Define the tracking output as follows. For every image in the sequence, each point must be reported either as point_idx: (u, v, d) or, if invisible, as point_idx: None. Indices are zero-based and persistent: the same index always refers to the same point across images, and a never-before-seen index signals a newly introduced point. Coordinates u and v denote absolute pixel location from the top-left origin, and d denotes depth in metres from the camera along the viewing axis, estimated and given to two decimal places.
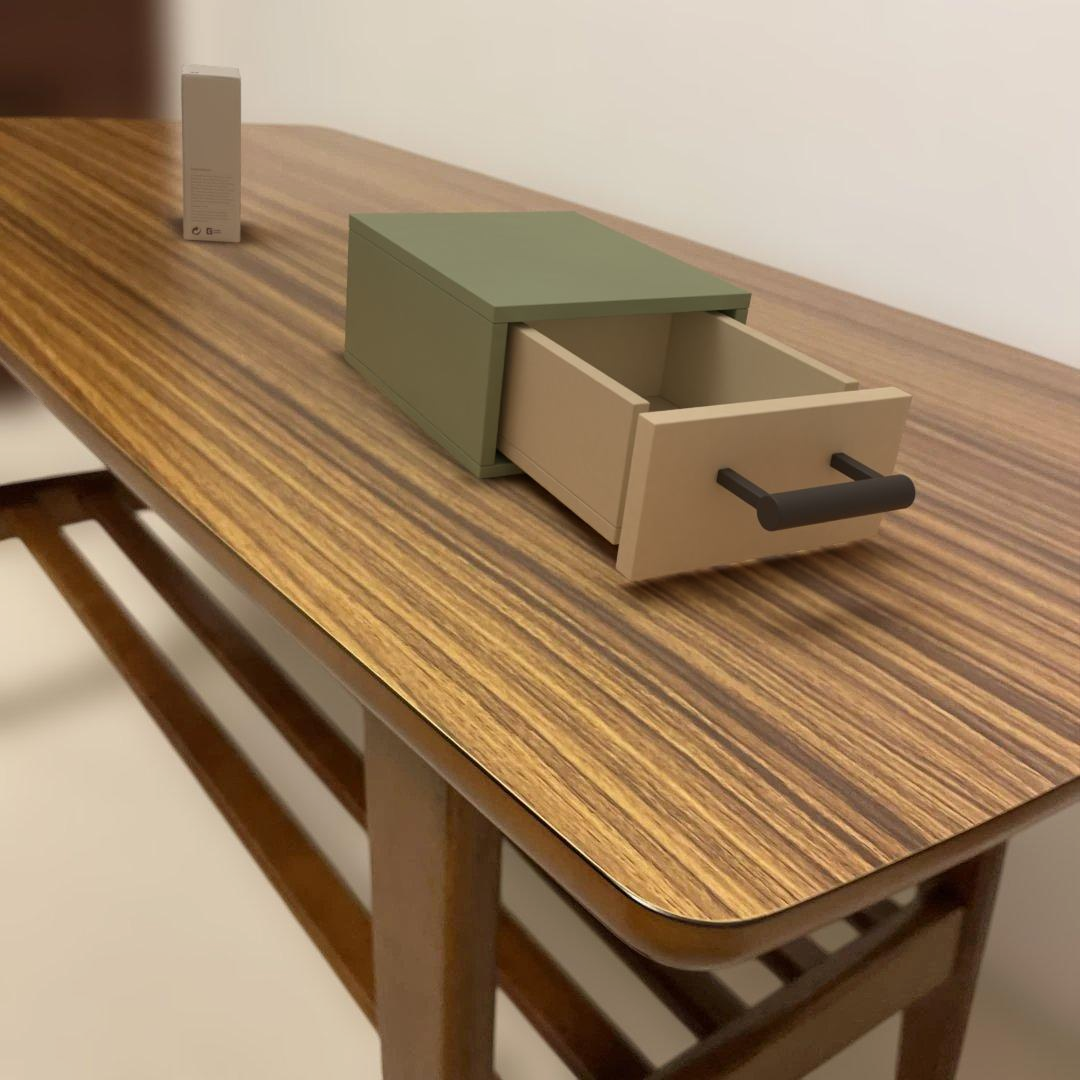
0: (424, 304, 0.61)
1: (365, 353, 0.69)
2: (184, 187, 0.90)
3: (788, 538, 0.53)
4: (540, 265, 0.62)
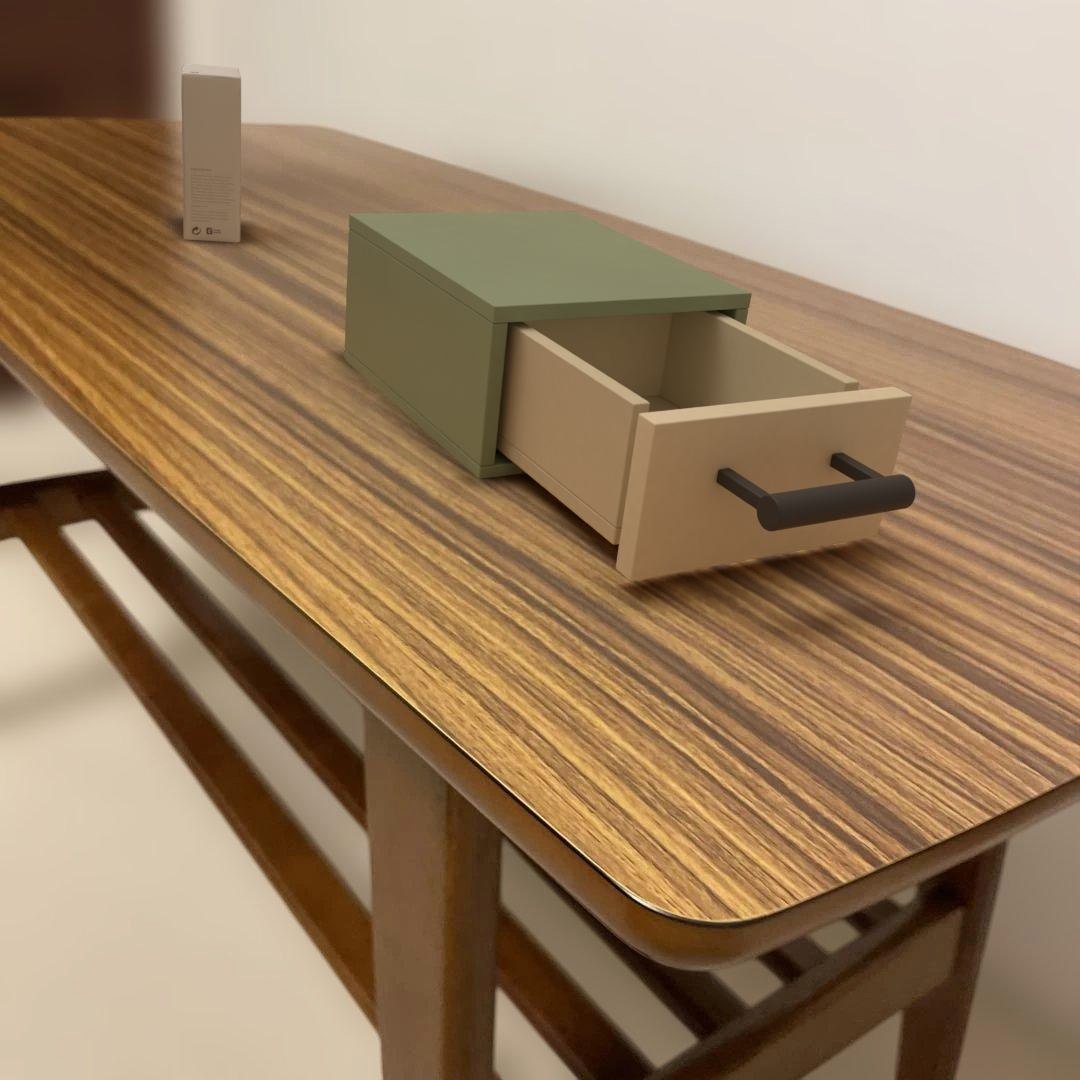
0: (424, 304, 0.61)
1: (365, 353, 0.69)
2: (184, 187, 0.90)
3: (788, 538, 0.53)
4: (540, 265, 0.62)
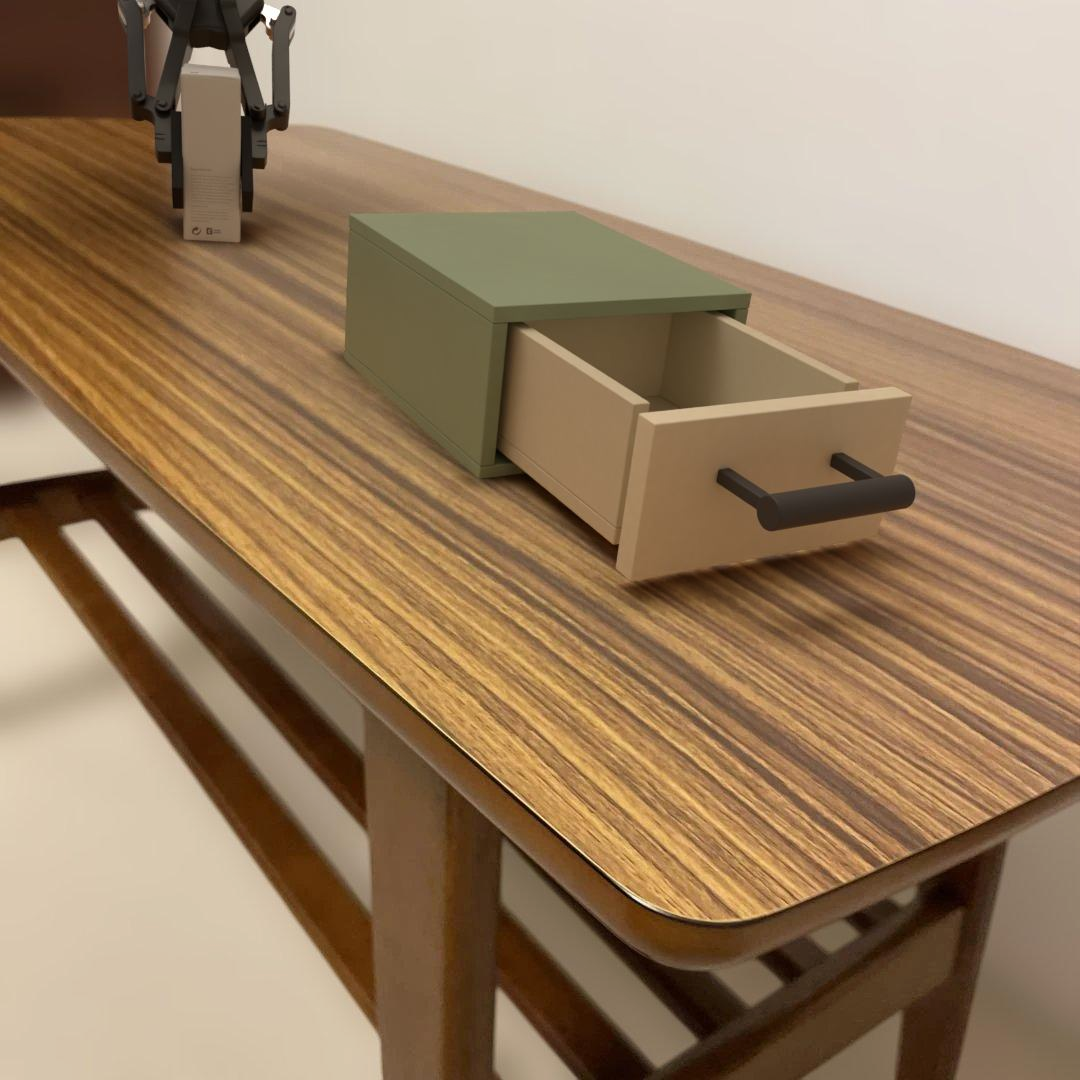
0: (424, 304, 0.61)
1: (365, 353, 0.69)
2: (184, 187, 0.90)
3: (788, 538, 0.53)
4: (540, 265, 0.62)
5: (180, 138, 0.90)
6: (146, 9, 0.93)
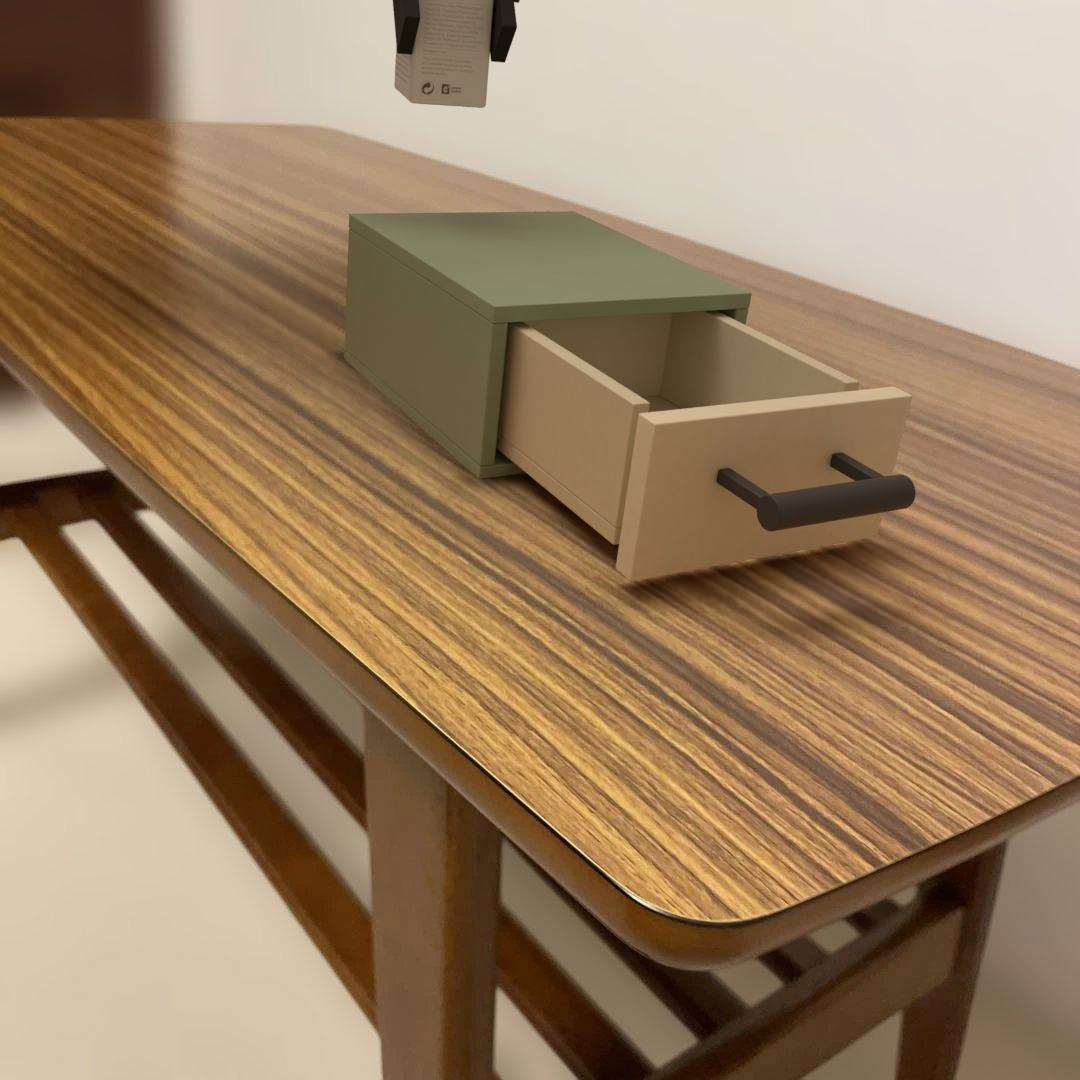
0: (424, 304, 0.61)
1: (365, 353, 0.69)
2: None
3: (788, 538, 0.53)
4: (540, 265, 0.62)
5: None
6: None
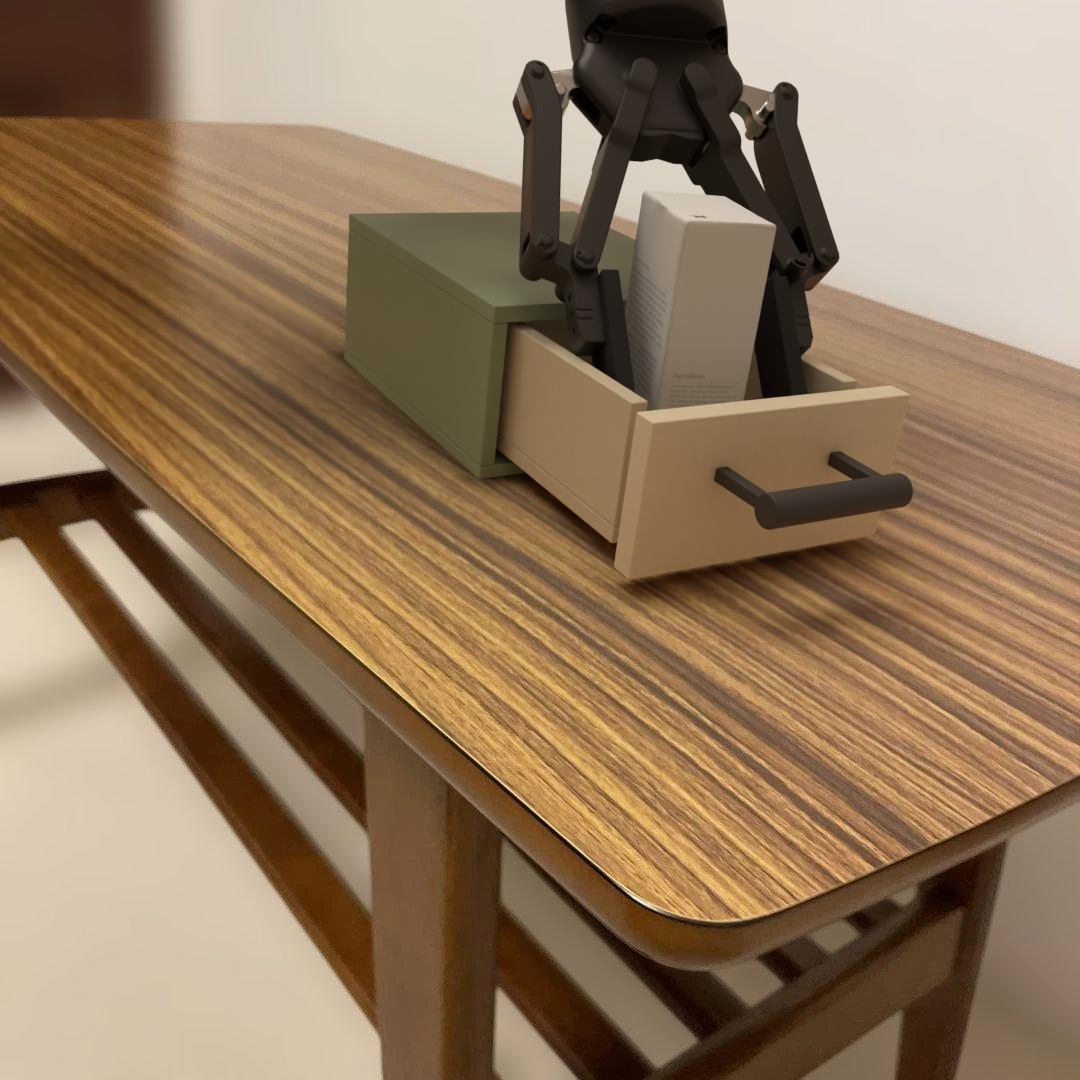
0: (424, 304, 0.61)
1: (365, 353, 0.69)
2: (658, 405, 0.53)
3: (786, 536, 0.53)
4: None
5: (623, 318, 0.52)
6: (564, 96, 0.56)
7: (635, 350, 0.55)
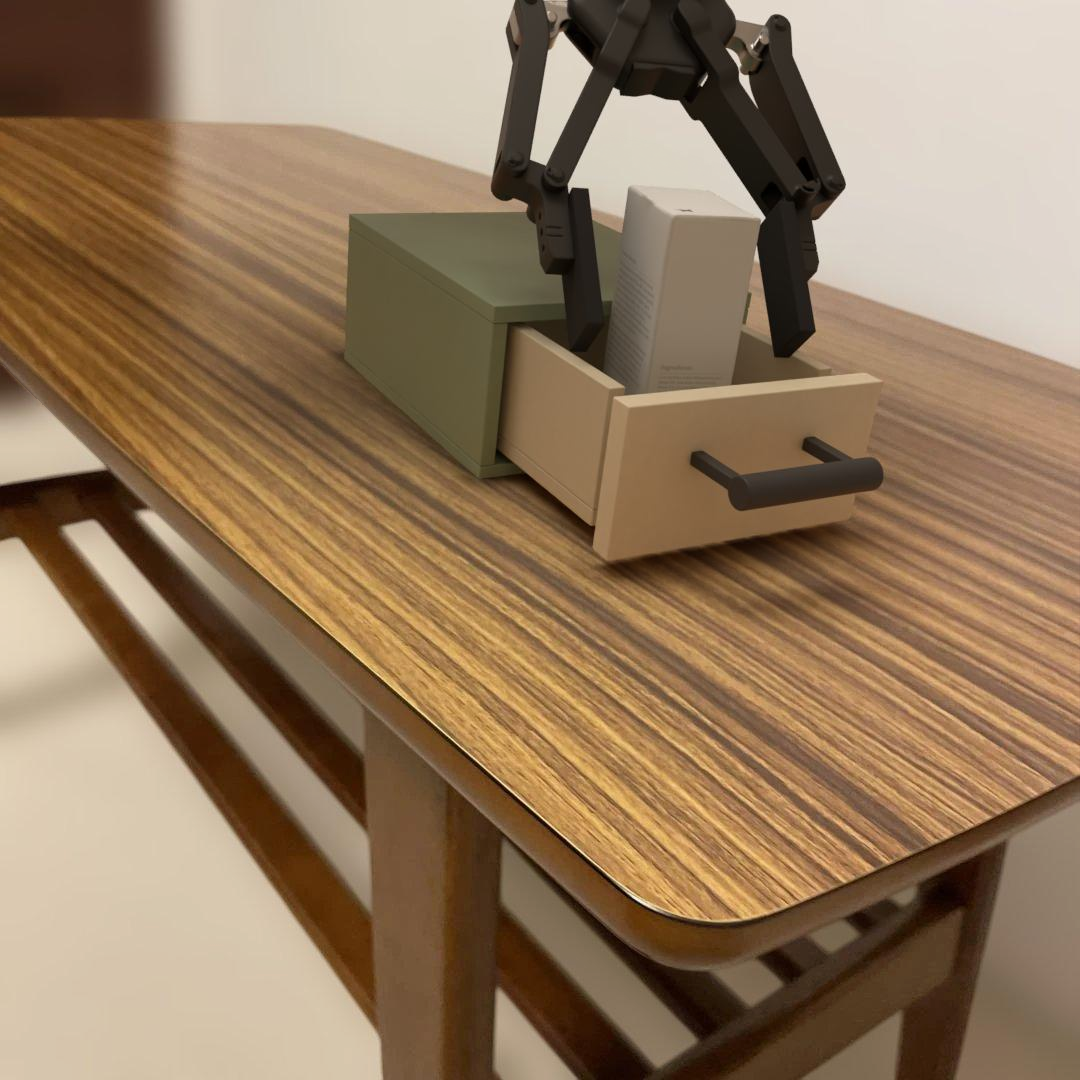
0: (424, 304, 0.61)
1: (365, 353, 0.69)
2: None
3: (761, 520, 0.54)
4: (540, 265, 0.62)
5: (592, 235, 0.53)
6: (555, 25, 0.57)
7: (623, 342, 0.56)
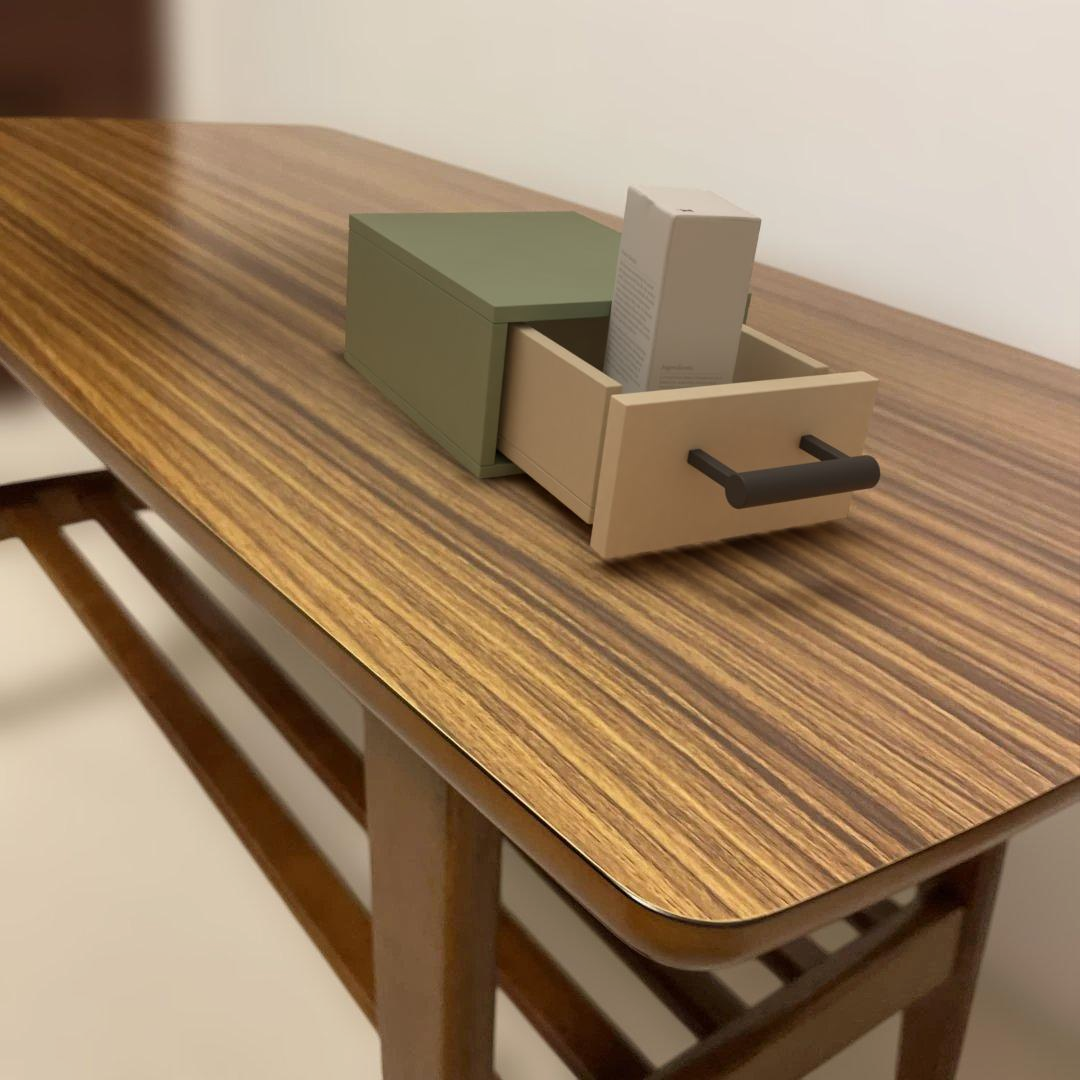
0: (424, 304, 0.61)
1: (365, 353, 0.69)
2: None
3: (759, 518, 0.54)
4: (540, 265, 0.62)
5: None
6: None
7: (623, 342, 0.56)
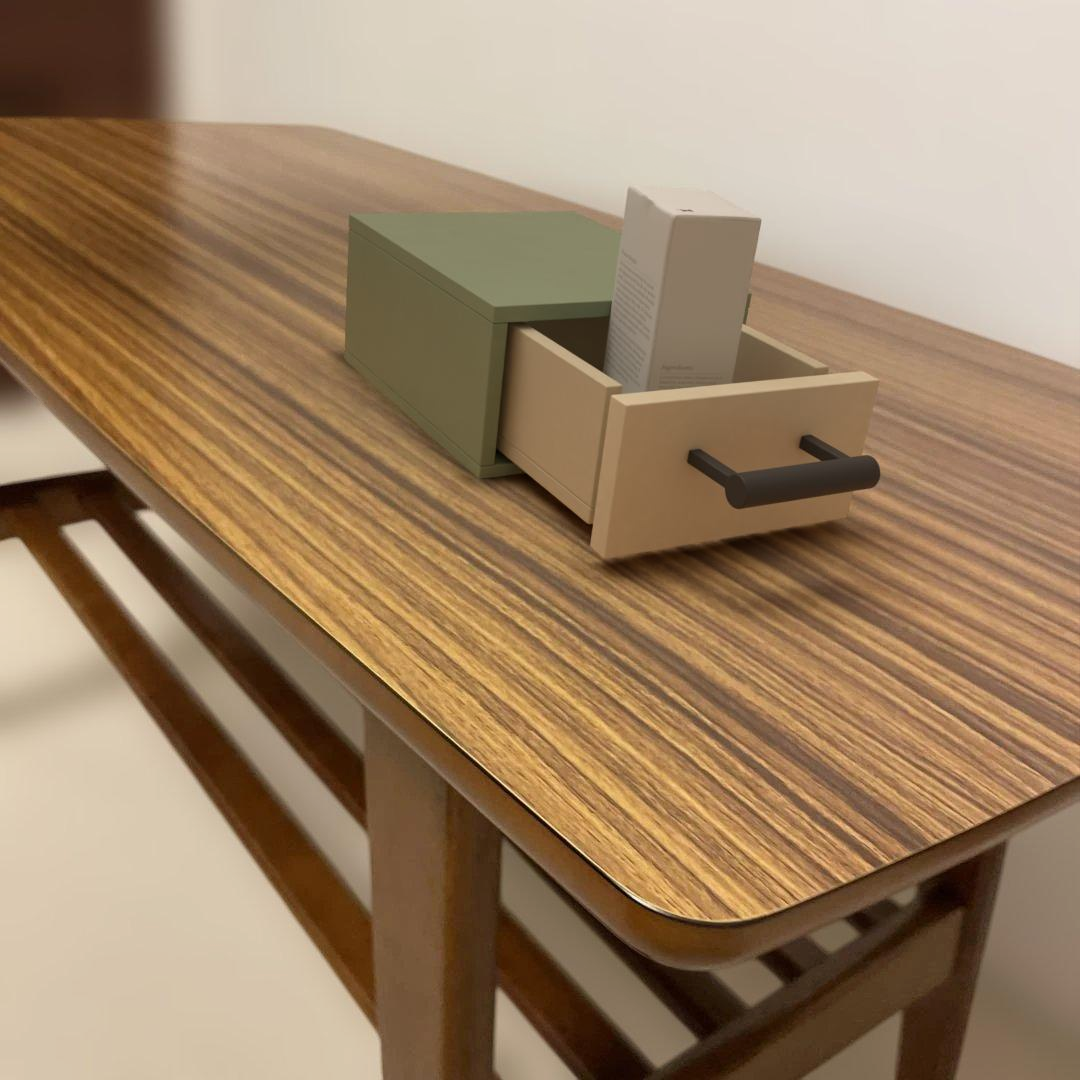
0: (424, 304, 0.61)
1: (365, 353, 0.69)
2: None
3: (759, 518, 0.54)
4: (540, 265, 0.62)
5: None
6: None
7: (623, 342, 0.56)
